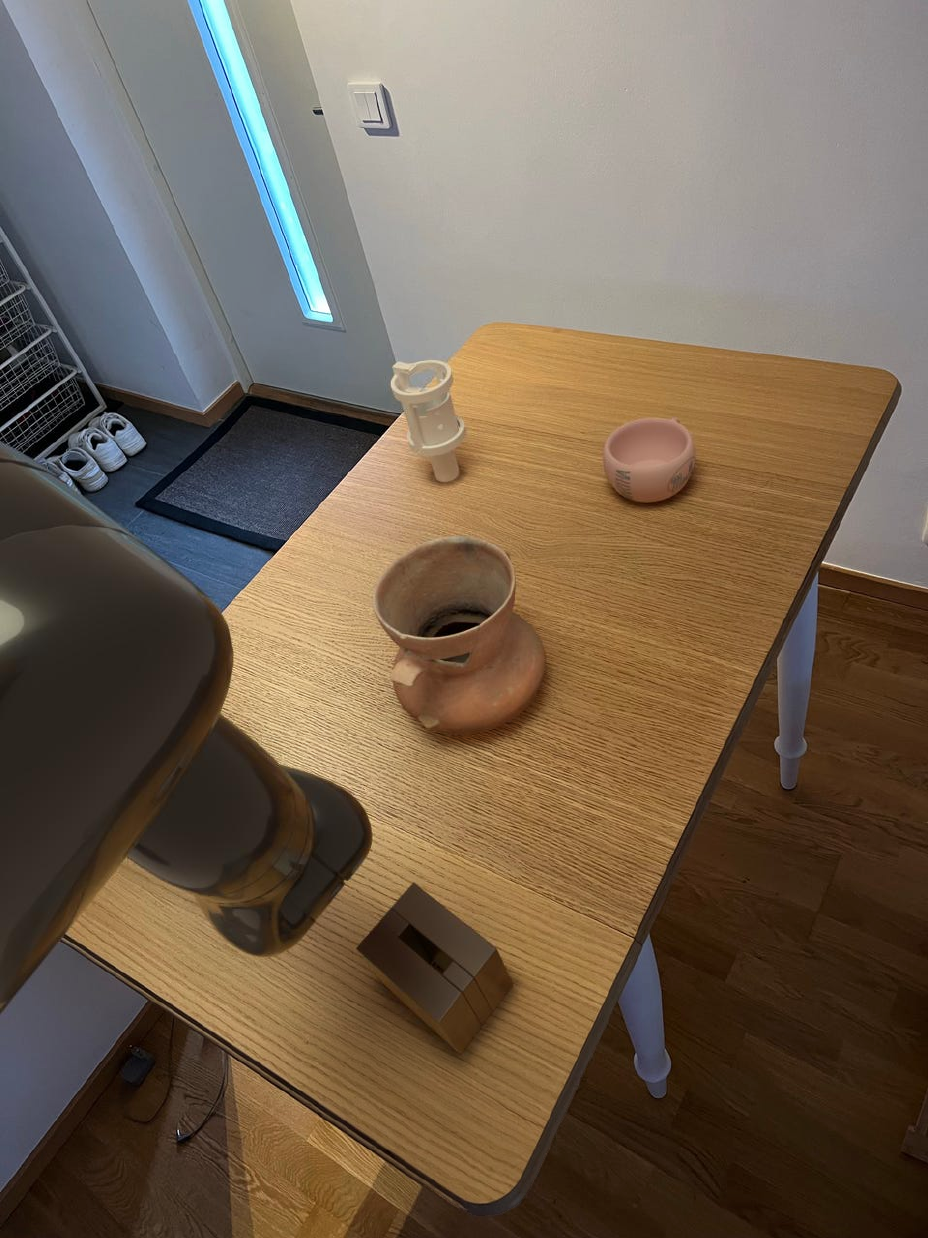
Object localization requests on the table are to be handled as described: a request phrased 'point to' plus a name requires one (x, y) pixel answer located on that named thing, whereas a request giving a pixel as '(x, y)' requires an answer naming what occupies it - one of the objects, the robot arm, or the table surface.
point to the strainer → (430, 416)
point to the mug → (649, 458)
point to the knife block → (463, 954)
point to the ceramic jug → (458, 636)
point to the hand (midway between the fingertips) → (32, 636)
